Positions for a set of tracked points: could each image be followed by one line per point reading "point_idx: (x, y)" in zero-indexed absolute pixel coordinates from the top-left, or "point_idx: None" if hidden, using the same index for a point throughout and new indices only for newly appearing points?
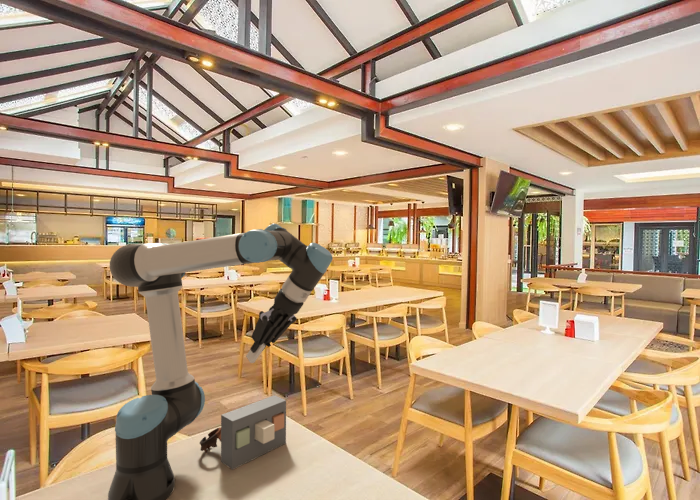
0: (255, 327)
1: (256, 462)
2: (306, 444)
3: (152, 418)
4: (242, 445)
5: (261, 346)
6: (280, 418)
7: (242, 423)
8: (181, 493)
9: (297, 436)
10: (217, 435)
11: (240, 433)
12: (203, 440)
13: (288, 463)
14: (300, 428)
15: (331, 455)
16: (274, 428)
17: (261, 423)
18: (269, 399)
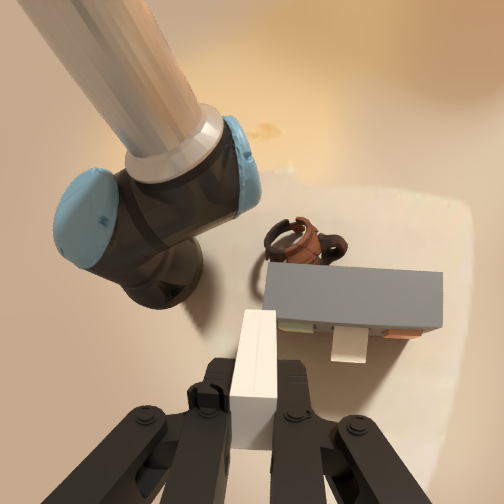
0: (63, 484)
1: (324, 346)
2: (431, 374)
3: (72, 260)
4: (294, 331)
5: (232, 444)
6: (407, 336)
7: (294, 321)
8: (190, 314)
9: (443, 334)
10: (287, 255)
11: (286, 328)
12: (281, 226)
13: (358, 399)
14: (468, 313)
15: (426, 441)
16: (385, 337)
17: (348, 333)
18: (416, 285)
